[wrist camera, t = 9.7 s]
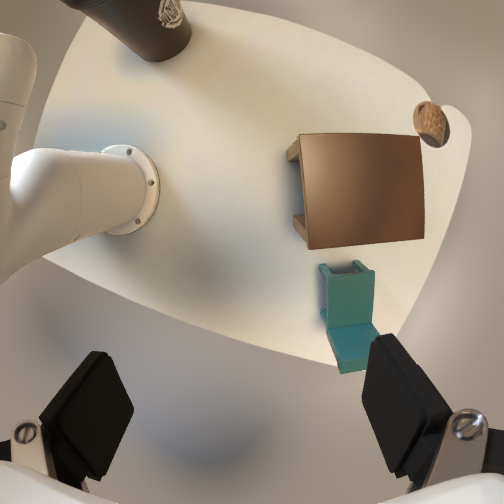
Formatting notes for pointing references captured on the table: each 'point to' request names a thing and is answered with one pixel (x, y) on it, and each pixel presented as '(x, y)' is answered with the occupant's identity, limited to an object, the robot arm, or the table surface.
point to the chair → (350, 316)
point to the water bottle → (141, 24)
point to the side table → (359, 188)
